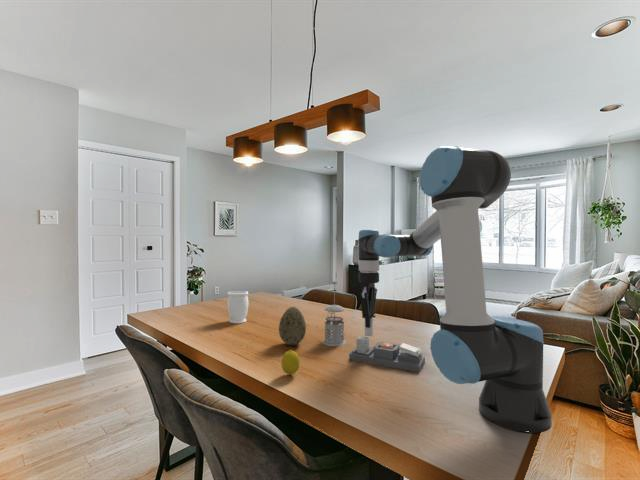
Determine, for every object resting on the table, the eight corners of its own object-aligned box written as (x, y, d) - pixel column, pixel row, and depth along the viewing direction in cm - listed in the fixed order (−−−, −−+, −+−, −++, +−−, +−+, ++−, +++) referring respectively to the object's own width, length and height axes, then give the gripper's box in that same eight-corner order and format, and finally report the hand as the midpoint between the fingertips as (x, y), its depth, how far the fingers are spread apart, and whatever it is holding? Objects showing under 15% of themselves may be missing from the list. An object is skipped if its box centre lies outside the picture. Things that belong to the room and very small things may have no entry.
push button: (391, 356, 111) (391, 347, 111) (378, 354, 113) (378, 345, 113) (394, 352, 115) (394, 344, 115) (382, 350, 117) (382, 342, 117)
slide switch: (366, 354, 114) (366, 339, 114) (356, 352, 116) (356, 338, 115) (369, 351, 117) (369, 337, 116) (359, 349, 118) (359, 336, 118)
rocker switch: (418, 357, 107) (419, 351, 107) (399, 349, 110) (400, 344, 110) (420, 352, 111) (421, 347, 111) (402, 346, 114) (403, 341, 114)
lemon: (290, 370, 106) (290, 345, 106) (303, 375, 102) (303, 349, 102) (277, 376, 101) (277, 350, 101) (290, 381, 98) (290, 354, 98)
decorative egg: (311, 343, 132) (311, 306, 132) (294, 351, 123) (294, 311, 123) (290, 338, 138) (290, 303, 138) (273, 345, 129) (273, 307, 129)
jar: (225, 320, 168) (225, 291, 168) (246, 318, 173) (246, 289, 173) (229, 325, 159) (229, 294, 159) (250, 323, 163) (250, 292, 163)
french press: (326, 347, 128) (326, 283, 127) (318, 338, 139) (318, 279, 139) (349, 345, 130) (350, 282, 130) (340, 336, 142) (340, 278, 141)
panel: (419, 372, 104) (419, 356, 104) (349, 359, 115) (349, 345, 115) (424, 361, 113) (424, 347, 113) (359, 350, 124) (359, 337, 124)
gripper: (365, 269, 129) (365, 329, 129) (352, 272, 117) (352, 338, 117) (383, 270, 125) (383, 332, 125) (373, 273, 114) (373, 341, 114)
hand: (368, 335), depth 121 cm, fingers closed
